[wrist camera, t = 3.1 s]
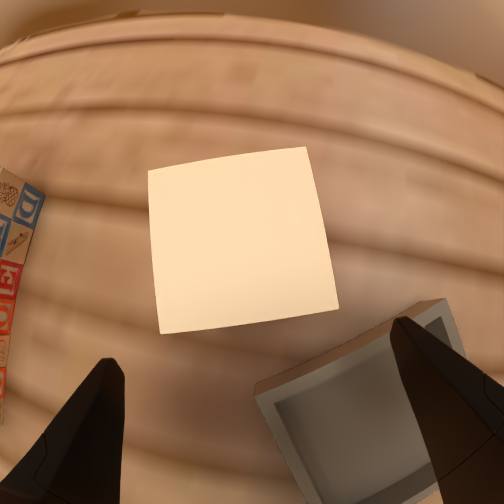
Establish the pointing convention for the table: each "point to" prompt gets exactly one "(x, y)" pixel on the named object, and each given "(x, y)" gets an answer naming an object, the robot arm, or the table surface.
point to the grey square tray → (355, 418)
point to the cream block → (238, 241)
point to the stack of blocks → (13, 252)
